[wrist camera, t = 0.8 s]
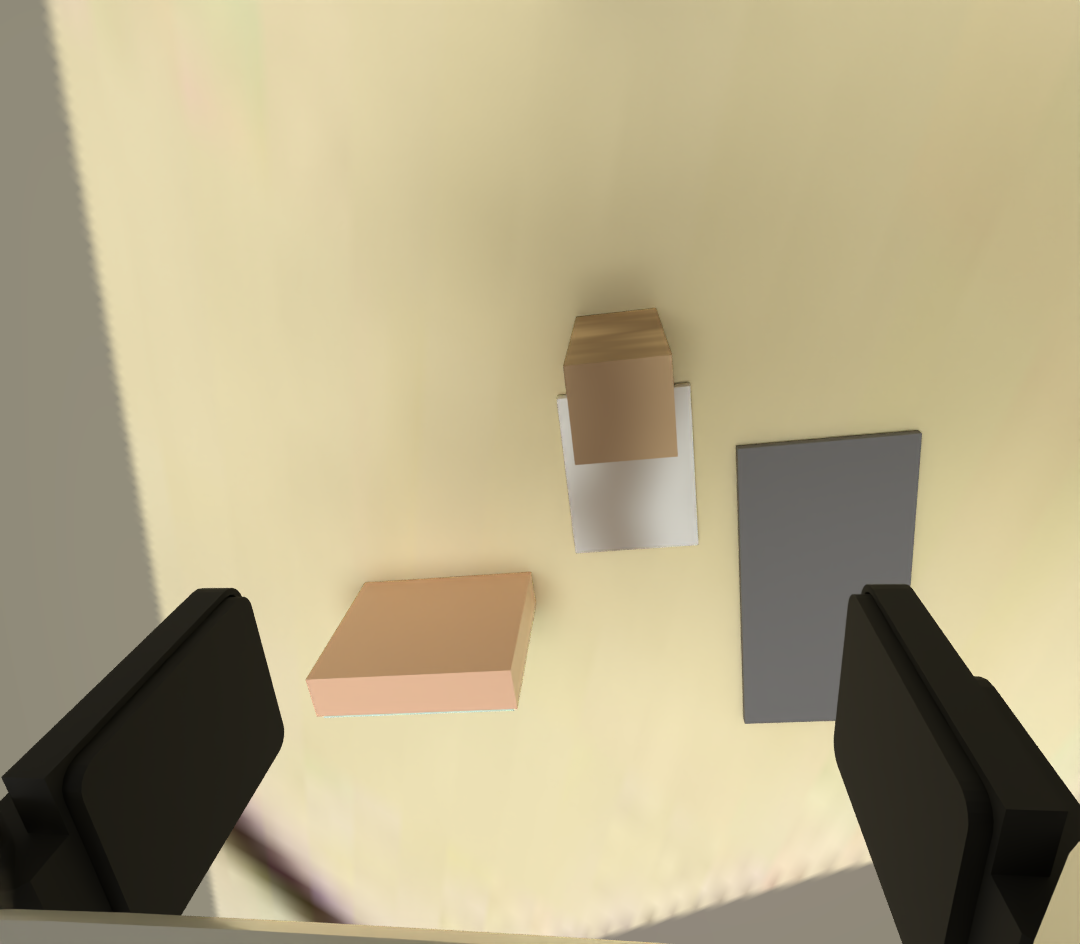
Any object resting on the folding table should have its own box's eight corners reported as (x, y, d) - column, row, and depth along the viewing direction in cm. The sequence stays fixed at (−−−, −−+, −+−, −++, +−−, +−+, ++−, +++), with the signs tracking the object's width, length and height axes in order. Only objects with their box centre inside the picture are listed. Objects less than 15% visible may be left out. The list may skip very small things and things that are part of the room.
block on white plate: (684, 304, 31) (711, 350, 22) (696, 539, 35) (723, 650, 27) (548, 320, 32) (525, 370, 23) (576, 547, 36) (565, 658, 27)
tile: (530, 571, 37) (510, 670, 29) (536, 608, 37) (518, 713, 30) (365, 582, 38) (305, 679, 30) (374, 617, 39) (318, 721, 31)
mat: (918, 430, 32) (921, 433, 31) (897, 713, 38) (900, 718, 37) (736, 446, 33) (737, 448, 33) (743, 718, 39) (744, 723, 38)
